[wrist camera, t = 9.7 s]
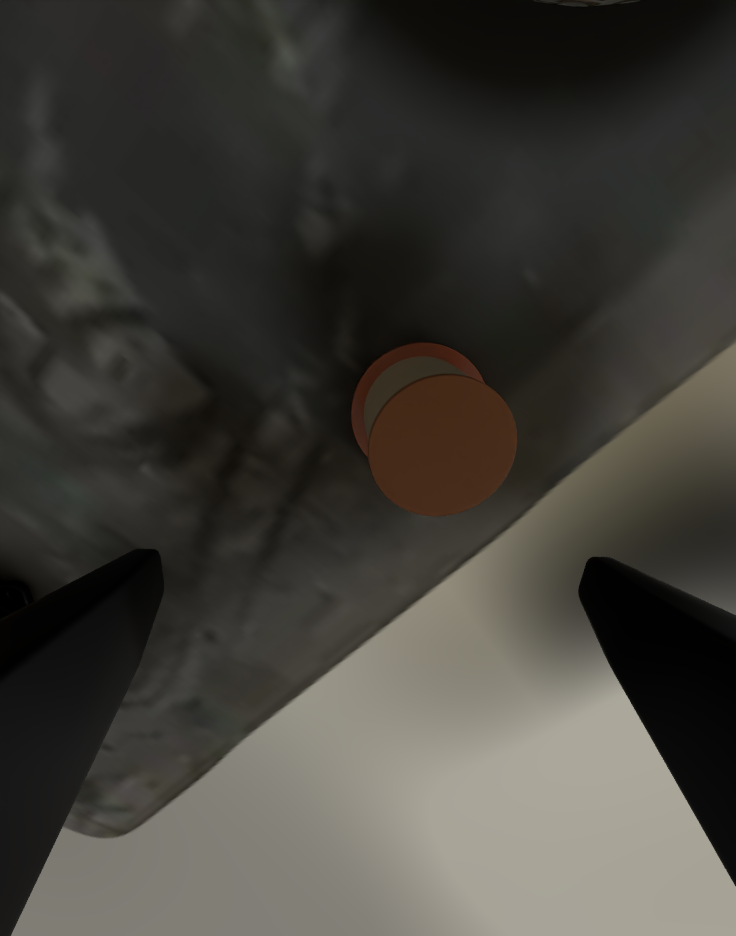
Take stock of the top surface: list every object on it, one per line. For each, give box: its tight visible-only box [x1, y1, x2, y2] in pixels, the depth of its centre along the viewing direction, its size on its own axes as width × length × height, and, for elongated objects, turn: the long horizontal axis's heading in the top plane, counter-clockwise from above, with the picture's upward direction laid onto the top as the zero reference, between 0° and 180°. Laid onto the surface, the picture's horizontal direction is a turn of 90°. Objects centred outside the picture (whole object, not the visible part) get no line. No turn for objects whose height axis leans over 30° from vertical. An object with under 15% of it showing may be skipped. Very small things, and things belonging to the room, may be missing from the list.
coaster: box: [351, 342, 485, 457], centre depth 19 cm, size 6×6×1 cm
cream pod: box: [364, 356, 517, 516], centre depth 16 cm, size 5×5×5 cm
